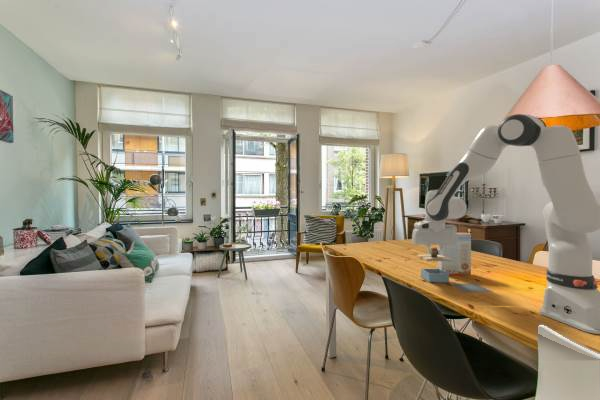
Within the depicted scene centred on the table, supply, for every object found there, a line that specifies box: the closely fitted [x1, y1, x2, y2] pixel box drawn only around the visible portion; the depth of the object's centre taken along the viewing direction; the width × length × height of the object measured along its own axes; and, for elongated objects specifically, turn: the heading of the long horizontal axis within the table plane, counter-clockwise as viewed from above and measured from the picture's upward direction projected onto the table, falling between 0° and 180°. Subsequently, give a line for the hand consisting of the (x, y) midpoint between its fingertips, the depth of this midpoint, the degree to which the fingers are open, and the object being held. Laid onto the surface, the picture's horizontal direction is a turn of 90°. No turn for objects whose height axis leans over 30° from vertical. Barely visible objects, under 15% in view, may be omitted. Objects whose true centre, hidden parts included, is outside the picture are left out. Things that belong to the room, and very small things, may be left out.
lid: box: [417, 247, 452, 262], centre depth 142 cm, size 11×11×5 cm
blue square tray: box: [420, 268, 450, 284], centre depth 142 cm, size 9×9×4 cm
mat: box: [450, 282, 493, 294], centre depth 131 cm, size 12×12×1 cm
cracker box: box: [437, 232, 472, 276], centre depth 154 cm, size 14×6×21 cm, turn 85°
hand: (434, 254), depth 142 cm, fingers closed on lid, 3 cm apart
